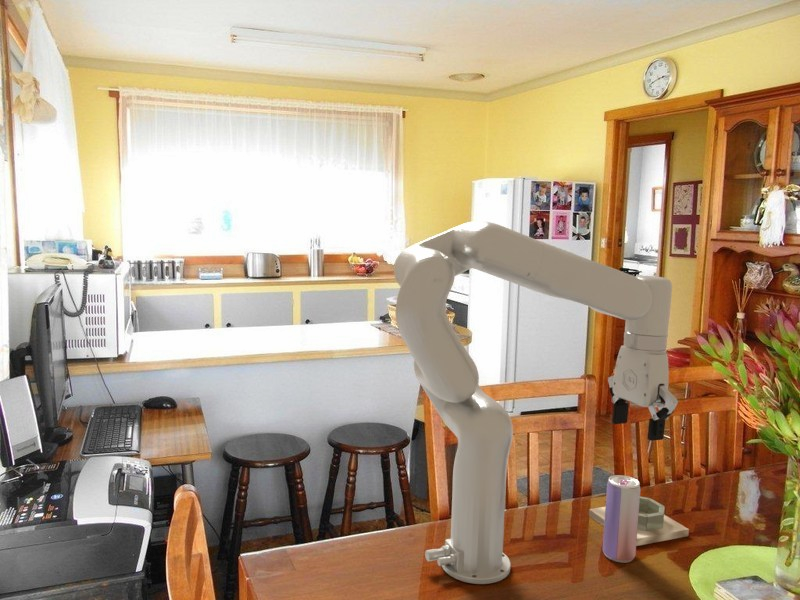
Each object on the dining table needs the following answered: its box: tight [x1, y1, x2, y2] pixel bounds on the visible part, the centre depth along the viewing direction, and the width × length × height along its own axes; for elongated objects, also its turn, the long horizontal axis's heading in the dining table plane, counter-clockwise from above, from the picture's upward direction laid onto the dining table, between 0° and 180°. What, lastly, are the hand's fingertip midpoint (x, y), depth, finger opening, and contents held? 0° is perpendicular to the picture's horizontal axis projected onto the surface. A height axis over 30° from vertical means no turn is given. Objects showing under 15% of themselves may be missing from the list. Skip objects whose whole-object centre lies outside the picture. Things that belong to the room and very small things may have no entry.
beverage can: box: [602, 474, 641, 564], centre depth 124 cm, size 6×6×15 cm
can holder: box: [588, 495, 690, 547], centre depth 137 cm, size 14×14×4 cm
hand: (636, 431), depth 124 cm, fingers open, 9 cm apart
